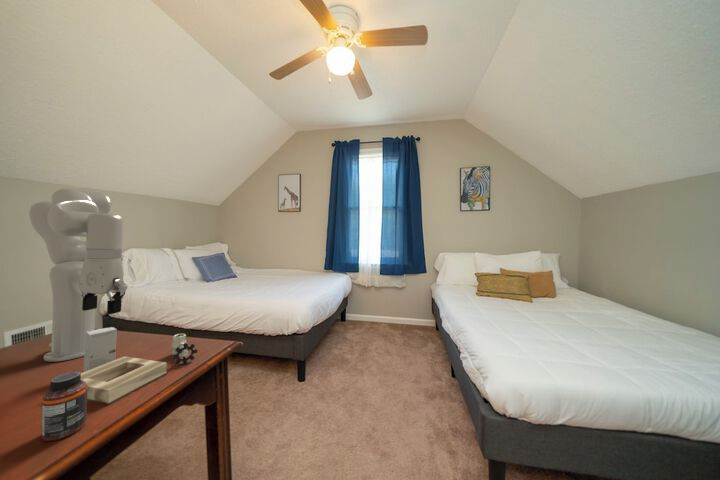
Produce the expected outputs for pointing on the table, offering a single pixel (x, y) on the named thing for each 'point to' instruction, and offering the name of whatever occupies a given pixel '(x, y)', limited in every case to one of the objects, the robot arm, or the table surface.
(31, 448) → the table surface
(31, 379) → the table surface
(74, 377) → the supplement bottle
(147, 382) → the socket block
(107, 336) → the skincare box
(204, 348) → the table surface
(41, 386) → the table surface
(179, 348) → the valve
